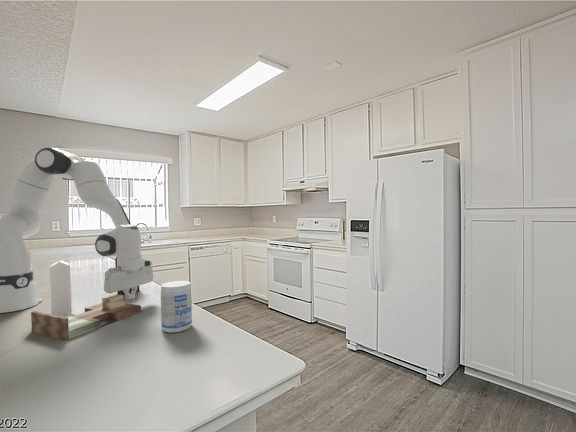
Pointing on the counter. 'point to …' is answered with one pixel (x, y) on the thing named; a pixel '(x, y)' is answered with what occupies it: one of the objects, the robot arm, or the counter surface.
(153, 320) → the counter surface
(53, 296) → the milk
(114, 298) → the block
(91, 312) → the board
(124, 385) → the counter surface
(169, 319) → the supplement tub
